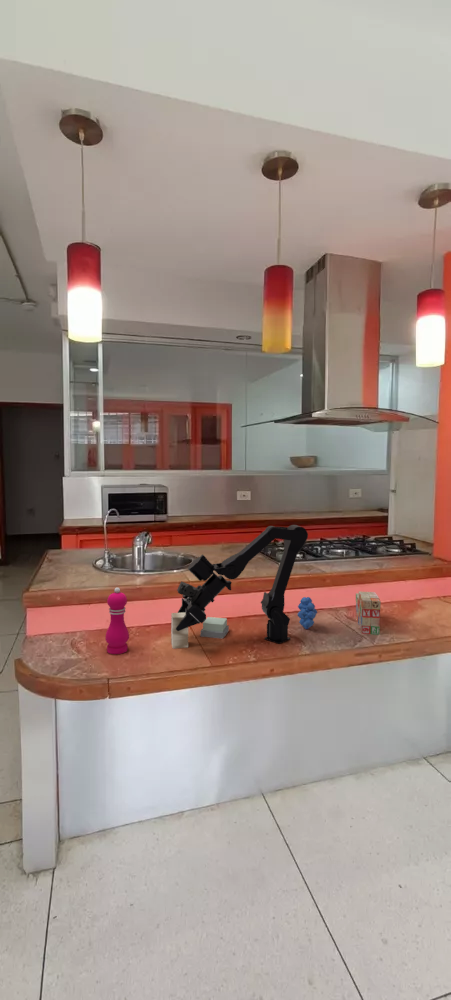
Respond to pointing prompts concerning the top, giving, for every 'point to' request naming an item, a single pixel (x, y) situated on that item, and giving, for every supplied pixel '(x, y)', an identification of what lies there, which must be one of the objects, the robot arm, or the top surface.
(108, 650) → the pepper mill
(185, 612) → the robot arm
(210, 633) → the tower base block
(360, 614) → the stack of blocks
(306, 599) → the grapes
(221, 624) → the tower top block
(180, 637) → the ash pillar
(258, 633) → the top surface
